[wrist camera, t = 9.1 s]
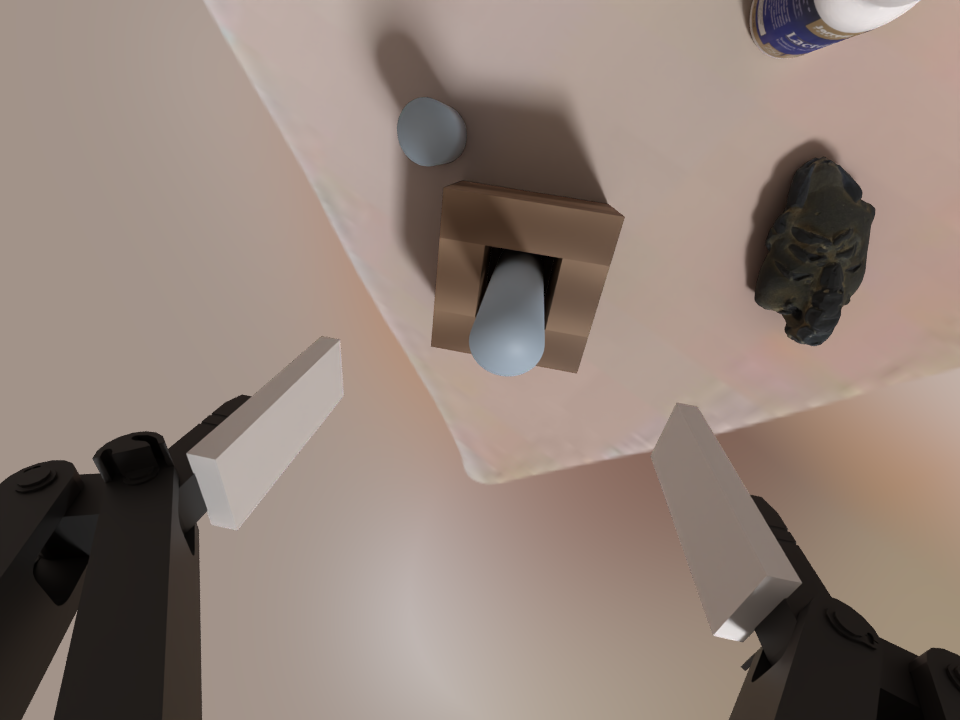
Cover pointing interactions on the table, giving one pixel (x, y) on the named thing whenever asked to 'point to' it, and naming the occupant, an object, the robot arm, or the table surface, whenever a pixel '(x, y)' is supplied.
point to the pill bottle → (816, 22)
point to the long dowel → (511, 316)
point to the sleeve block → (528, 228)
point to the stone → (816, 251)
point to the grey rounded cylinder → (431, 132)
